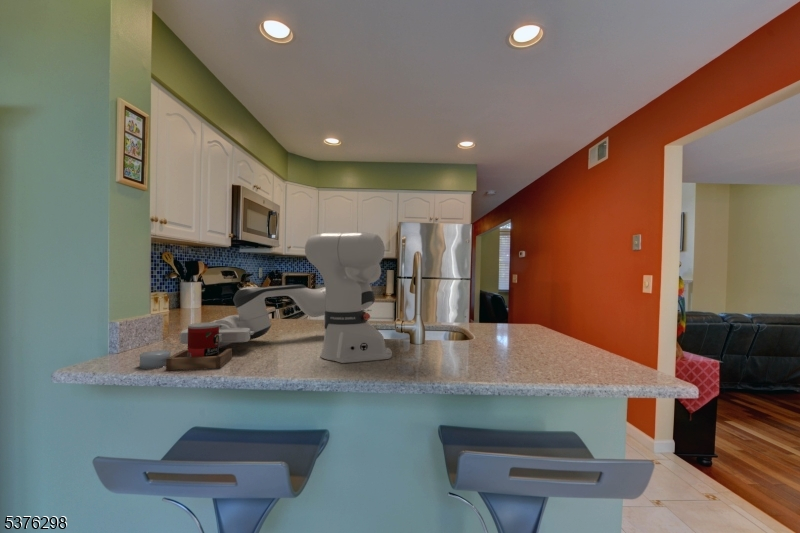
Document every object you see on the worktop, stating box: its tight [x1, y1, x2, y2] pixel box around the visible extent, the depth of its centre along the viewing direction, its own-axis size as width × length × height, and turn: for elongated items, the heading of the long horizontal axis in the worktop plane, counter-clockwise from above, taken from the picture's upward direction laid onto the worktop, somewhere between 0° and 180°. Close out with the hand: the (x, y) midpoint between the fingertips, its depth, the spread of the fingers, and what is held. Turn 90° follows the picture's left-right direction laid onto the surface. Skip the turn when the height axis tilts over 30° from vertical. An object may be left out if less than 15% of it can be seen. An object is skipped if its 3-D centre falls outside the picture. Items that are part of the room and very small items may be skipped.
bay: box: [165, 348, 233, 371], centre depth 98 cm, size 13×10×3 cm
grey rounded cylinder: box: [139, 349, 171, 370], centre depth 96 cm, size 7×7×4 cm
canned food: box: [187, 321, 220, 357], centre depth 99 cm, size 8×8×11 cm
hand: (208, 340), depth 103 cm, fingers closed, pressing on canned food
